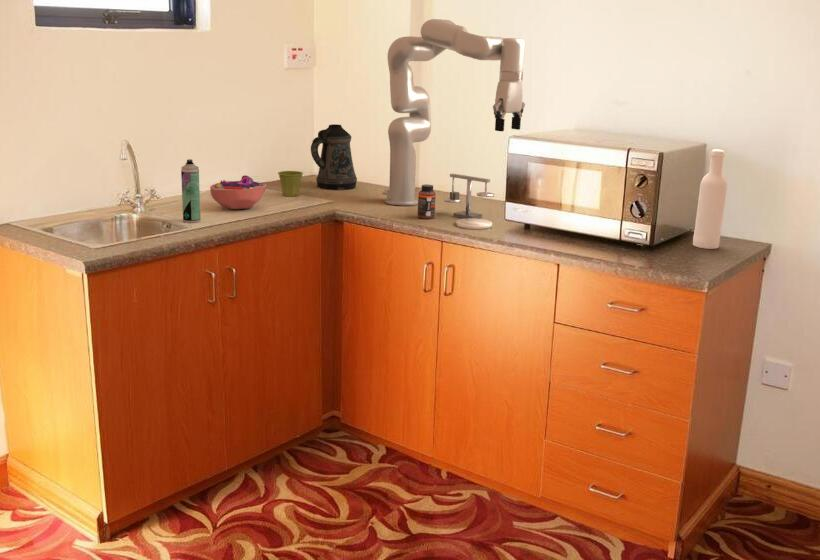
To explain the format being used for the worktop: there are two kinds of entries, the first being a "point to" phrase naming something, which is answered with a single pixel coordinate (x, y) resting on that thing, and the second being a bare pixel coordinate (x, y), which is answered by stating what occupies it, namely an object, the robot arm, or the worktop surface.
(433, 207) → the supplement bottle
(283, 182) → the plant pot
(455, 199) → the balance
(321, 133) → the beer stein
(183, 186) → the spray can
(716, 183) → the bottle
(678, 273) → the worktop surface
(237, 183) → the cell model
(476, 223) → the dish
